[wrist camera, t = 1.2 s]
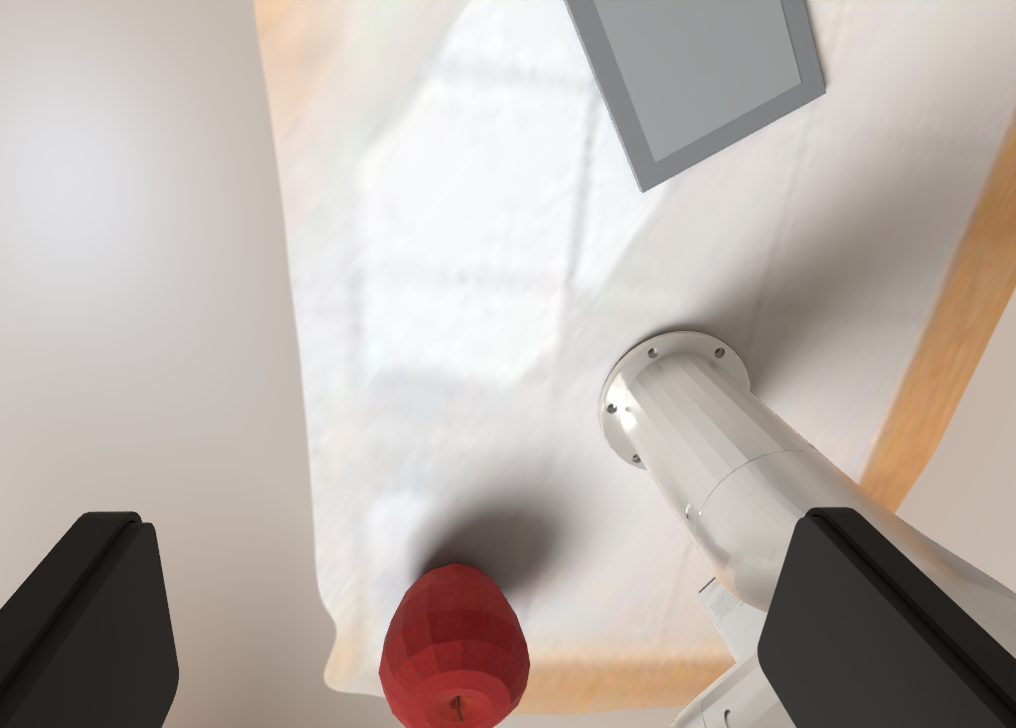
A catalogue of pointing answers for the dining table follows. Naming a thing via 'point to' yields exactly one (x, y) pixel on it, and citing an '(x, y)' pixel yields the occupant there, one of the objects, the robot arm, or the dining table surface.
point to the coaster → (695, 73)
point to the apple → (454, 652)
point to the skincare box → (733, 619)
